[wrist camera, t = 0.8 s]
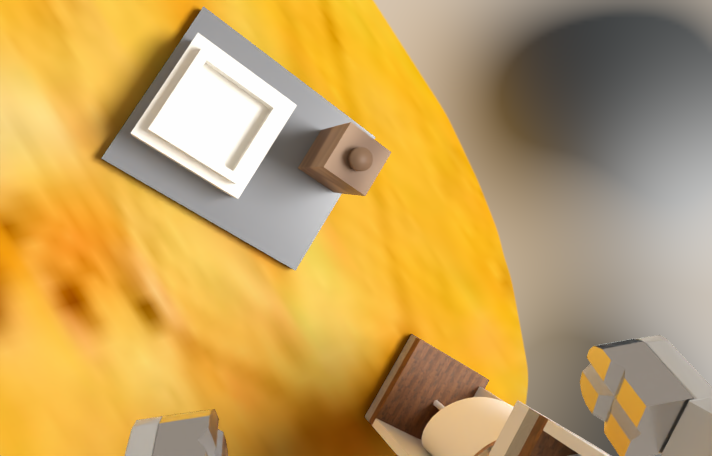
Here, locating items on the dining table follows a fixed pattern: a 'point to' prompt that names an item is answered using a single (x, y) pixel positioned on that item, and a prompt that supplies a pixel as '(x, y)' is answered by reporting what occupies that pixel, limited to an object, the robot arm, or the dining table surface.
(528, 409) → the two-tier open rack
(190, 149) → the block
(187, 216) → the dining table surface
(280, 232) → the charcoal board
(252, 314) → the dining table surface
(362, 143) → the walnut pillar
